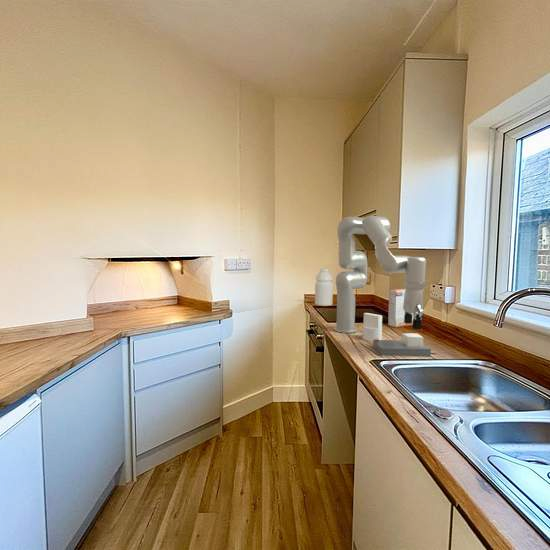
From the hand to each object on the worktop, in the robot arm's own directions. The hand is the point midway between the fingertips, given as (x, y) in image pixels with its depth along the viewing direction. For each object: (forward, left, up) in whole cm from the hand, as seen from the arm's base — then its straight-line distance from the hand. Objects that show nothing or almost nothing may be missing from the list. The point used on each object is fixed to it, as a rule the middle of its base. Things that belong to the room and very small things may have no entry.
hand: (412, 325), depth 144 cm
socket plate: (0, -5, -11) cm, 12 cm away
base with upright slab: (-19, -12, -11) cm, 25 cm away
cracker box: (-49, +12, -11) cm, 52 cm away
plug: (0, 0, -10) cm, 10 cm away
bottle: (-120, -23, -11) cm, 122 cm away
